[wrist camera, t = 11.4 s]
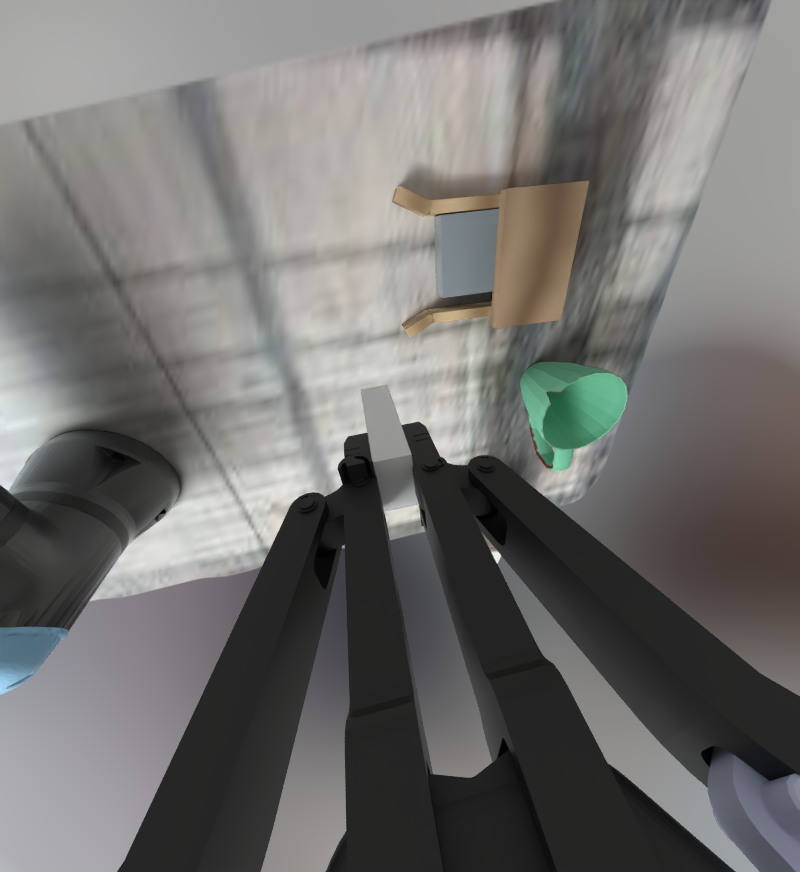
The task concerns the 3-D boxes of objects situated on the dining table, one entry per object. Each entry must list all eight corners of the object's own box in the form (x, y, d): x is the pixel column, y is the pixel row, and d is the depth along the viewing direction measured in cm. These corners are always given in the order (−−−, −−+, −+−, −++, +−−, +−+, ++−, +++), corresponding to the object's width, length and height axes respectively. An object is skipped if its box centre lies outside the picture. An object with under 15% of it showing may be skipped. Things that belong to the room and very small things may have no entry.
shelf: (402, 332, 35) (414, 351, 29) (391, 189, 28) (403, 176, 22) (523, 316, 36) (558, 332, 30) (543, 175, 29) (593, 159, 23)
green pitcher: (507, 348, 38) (551, 378, 30) (579, 338, 39) (642, 365, 31) (495, 441, 47) (527, 486, 38) (555, 432, 47) (599, 474, 39)
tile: (435, 293, 34) (442, 298, 31) (433, 216, 30) (441, 215, 27) (512, 283, 35) (525, 286, 32) (520, 207, 31) (535, 204, 28)
